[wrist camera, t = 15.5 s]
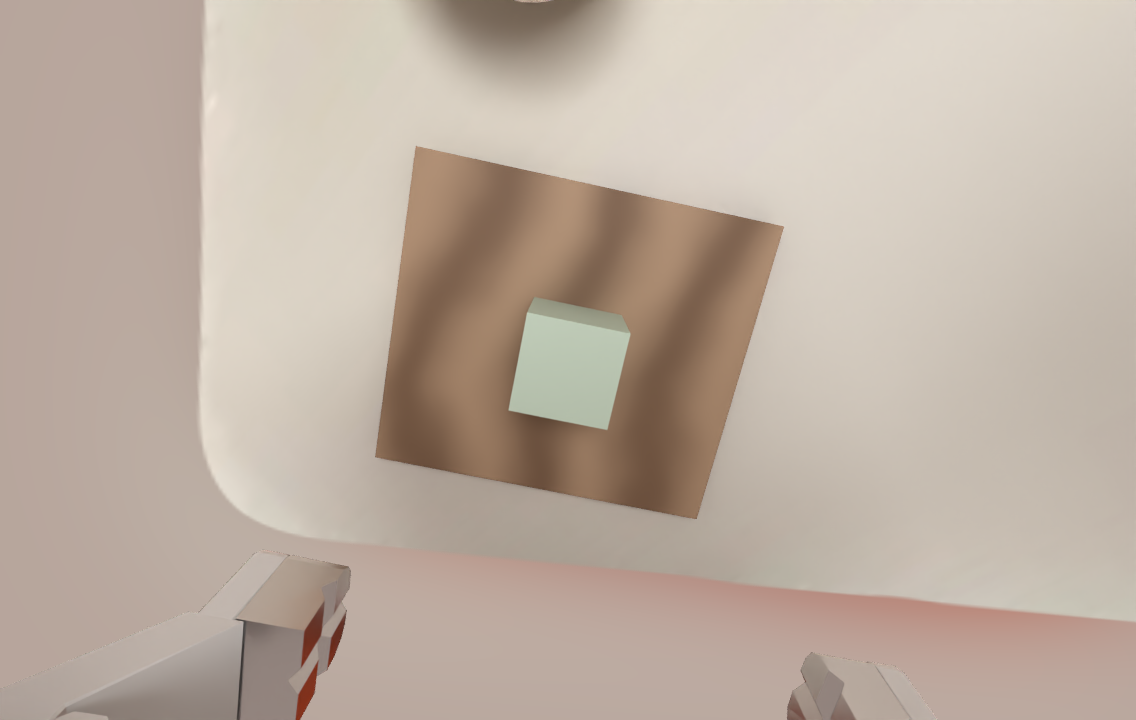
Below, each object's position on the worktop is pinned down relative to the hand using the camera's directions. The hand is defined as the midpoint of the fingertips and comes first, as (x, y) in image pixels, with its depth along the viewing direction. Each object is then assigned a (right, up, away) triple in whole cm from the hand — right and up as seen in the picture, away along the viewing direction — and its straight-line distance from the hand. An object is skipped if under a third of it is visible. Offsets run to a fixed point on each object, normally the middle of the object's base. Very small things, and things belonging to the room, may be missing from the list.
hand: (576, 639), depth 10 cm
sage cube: (0, +6, +22) cm, 23 cm away
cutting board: (0, +6, +23) cm, 24 cm away
